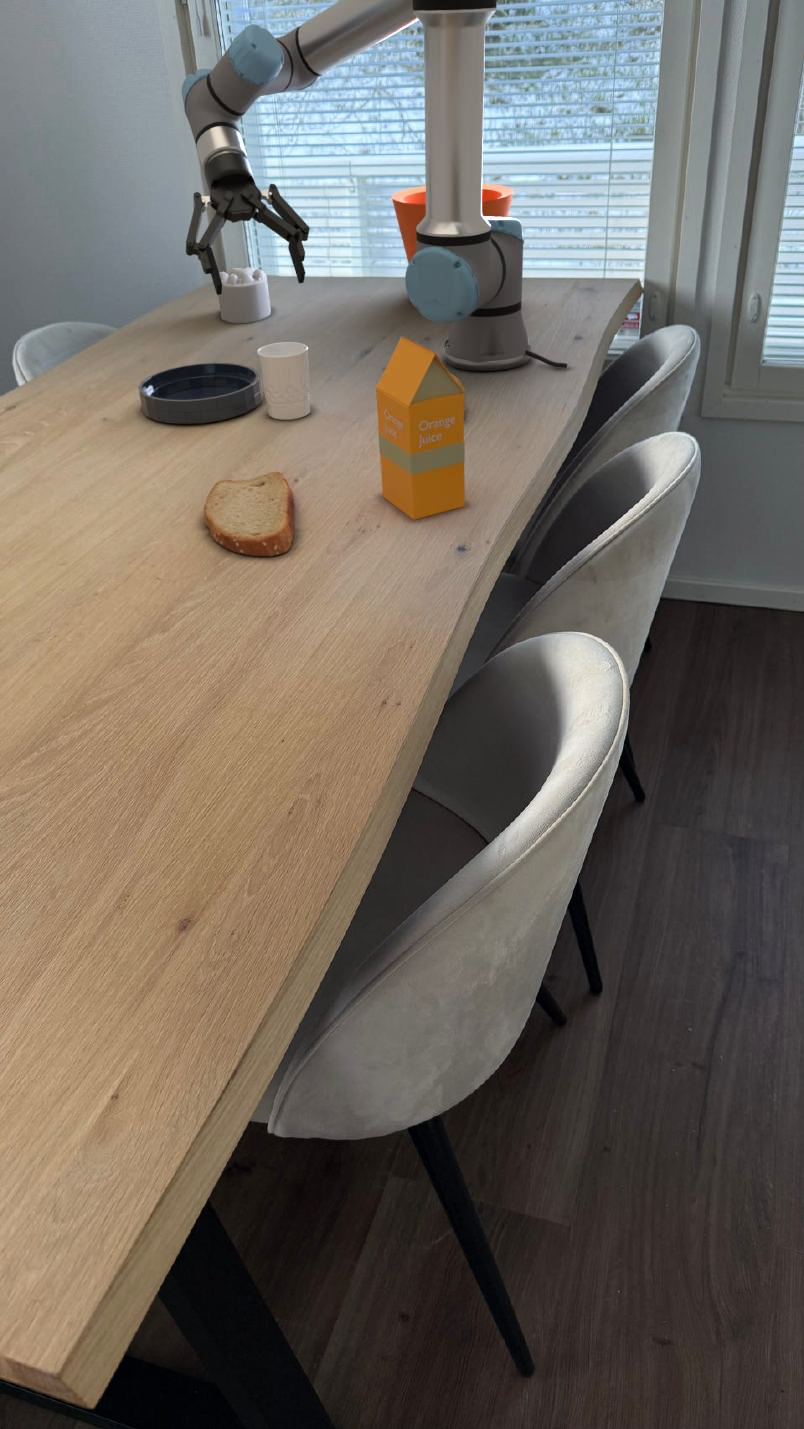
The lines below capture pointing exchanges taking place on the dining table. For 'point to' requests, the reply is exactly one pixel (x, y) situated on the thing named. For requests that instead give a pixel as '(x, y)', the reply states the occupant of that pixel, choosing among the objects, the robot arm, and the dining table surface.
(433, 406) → the orange juice
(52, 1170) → the dining table surface
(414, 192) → the flowerpot
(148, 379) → the plate
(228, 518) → the slice of bread
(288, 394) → the white cup
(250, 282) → the lumpy-topped squat cylinder
